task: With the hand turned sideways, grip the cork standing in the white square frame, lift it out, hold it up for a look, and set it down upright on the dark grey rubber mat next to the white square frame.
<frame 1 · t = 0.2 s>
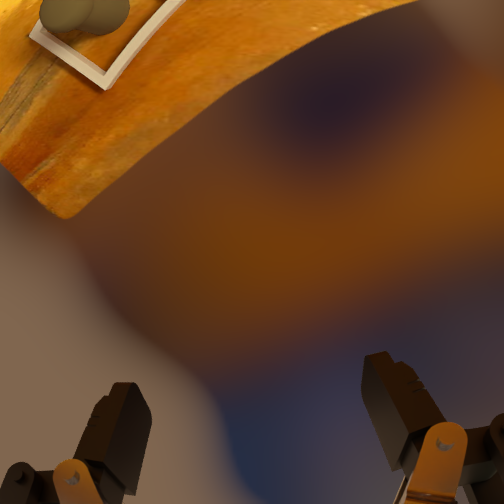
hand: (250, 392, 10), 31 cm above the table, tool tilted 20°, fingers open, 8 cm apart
cork: (105, 11, 23), resting in white square frame
white square frame: (105, 11, 23), on the table
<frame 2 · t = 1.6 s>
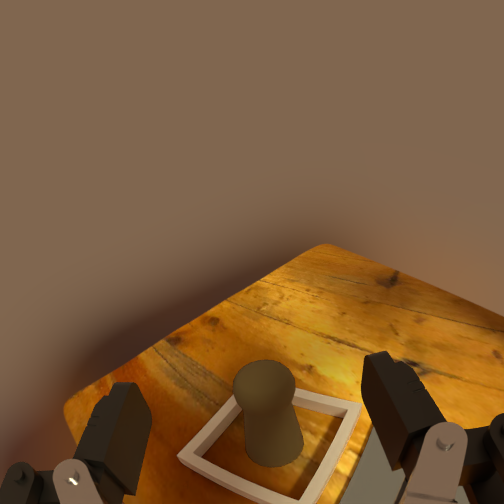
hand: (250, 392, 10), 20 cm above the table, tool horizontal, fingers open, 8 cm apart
cork: (274, 444, 27), resting in white square frame
white square frame: (274, 443, 27), on the table
mat: (418, 479, 19), on the table
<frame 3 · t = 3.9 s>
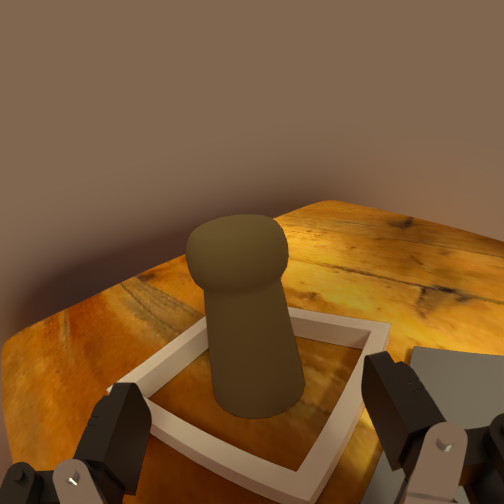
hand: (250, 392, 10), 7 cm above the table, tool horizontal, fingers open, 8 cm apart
cork: (259, 386, 19), resting in white square frame
white square frame: (258, 384, 19), on the table
mat: (494, 431, 10), on the table
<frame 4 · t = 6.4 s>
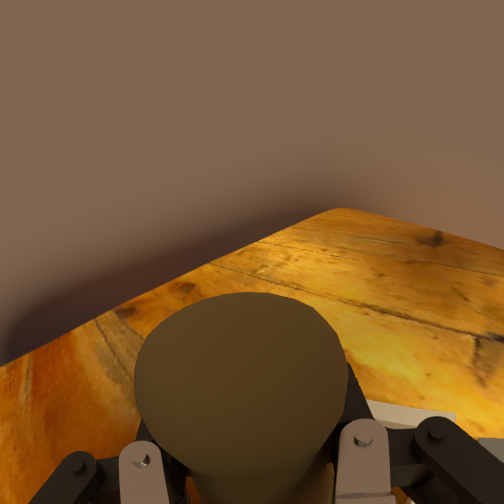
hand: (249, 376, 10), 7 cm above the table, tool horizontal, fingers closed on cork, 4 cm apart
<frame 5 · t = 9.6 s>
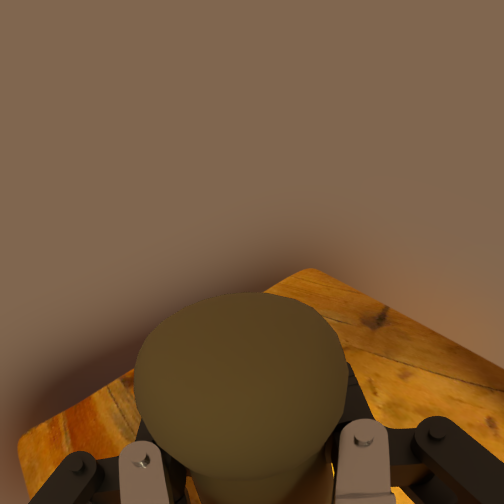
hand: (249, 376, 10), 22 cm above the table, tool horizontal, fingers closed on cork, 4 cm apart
when the fingers open (8 cm above the table, at t = 13.3 s): cork stays where it is, resting on mat.
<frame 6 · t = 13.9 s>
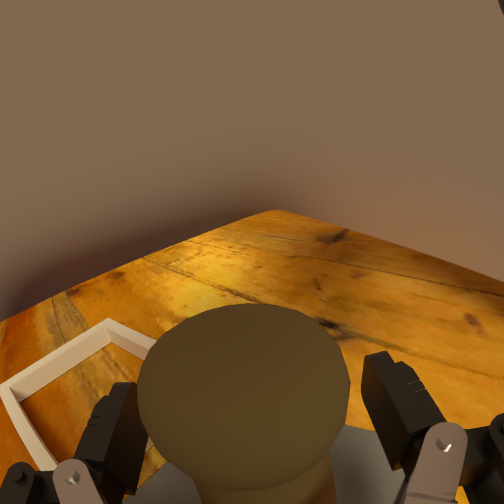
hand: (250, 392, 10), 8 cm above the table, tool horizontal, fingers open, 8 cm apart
white square frame: (95, 400, 19), on the table
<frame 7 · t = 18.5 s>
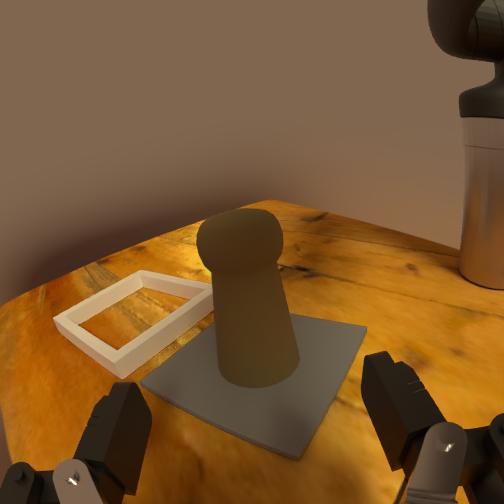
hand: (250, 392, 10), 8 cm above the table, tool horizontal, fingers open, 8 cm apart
cork: (259, 361, 22), resting on mat
white square frame: (135, 318, 30), on the table
mat: (258, 363, 22), on the table
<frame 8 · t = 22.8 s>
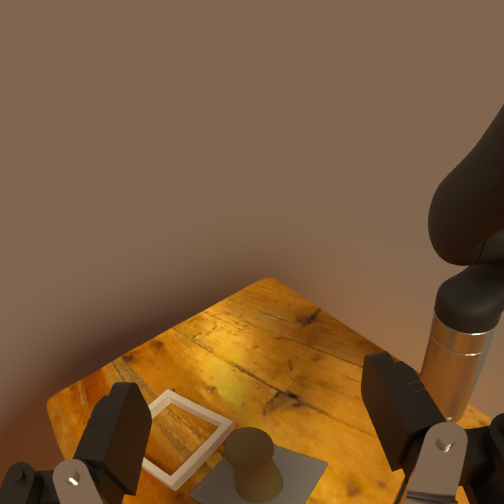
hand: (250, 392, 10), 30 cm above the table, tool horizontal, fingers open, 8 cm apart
cork: (259, 484, 30), resting on mat
white square frame: (172, 438, 39), on the table
mat: (259, 484, 30), on the table
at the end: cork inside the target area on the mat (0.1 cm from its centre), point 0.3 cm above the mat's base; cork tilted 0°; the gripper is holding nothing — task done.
